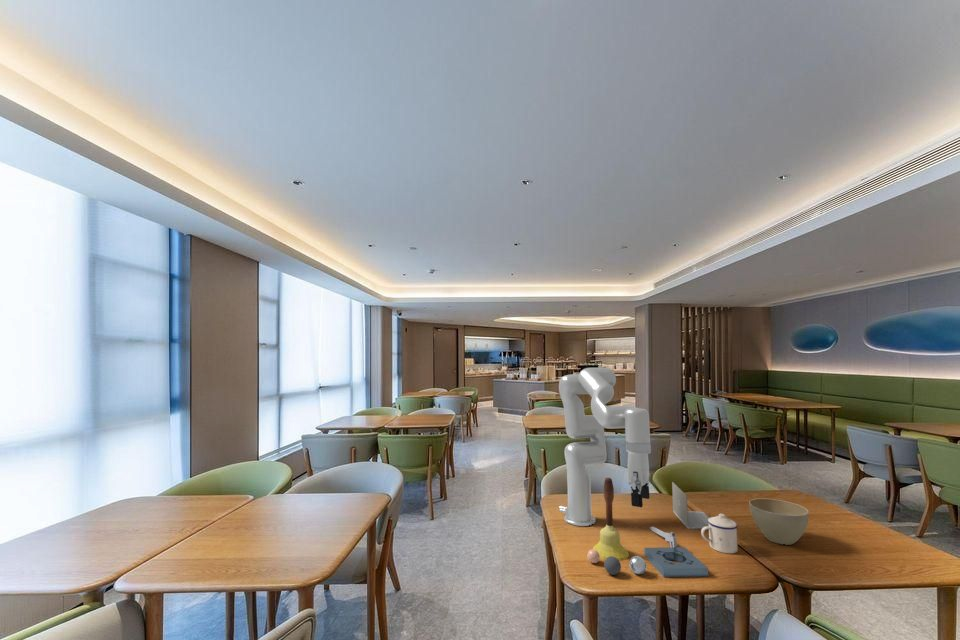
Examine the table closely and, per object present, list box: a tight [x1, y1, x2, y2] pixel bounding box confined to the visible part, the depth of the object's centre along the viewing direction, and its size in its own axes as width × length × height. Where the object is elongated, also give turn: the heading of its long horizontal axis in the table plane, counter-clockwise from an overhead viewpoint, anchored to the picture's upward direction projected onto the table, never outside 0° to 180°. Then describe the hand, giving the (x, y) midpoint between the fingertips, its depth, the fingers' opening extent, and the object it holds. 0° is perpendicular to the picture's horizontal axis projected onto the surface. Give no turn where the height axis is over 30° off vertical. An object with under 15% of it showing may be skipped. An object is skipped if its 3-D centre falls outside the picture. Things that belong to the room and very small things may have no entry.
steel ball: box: [628, 555, 647, 575], centre depth 131 cm, size 5×5×5 cm
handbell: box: [591, 477, 630, 562], centre depth 146 cm, size 12×12×25 cm
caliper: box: [649, 526, 678, 547], centre depth 155 cm, size 20×1×6 cm, turn 1°
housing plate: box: [643, 546, 709, 578], centre depth 136 cm, size 14×14×2 cm
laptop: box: [671, 481, 710, 530], centre depth 173 cm, size 18×12×13 cm
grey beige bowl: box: [748, 497, 810, 546], centre depth 155 cm, size 18×18×12 cm
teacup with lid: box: [700, 513, 738, 554], centre depth 149 cm, size 12×9×12 cm
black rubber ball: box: [603, 556, 622, 576], centre depth 131 cm, size 5×5×5 cm
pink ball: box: [586, 548, 601, 564], centre depth 138 cm, size 4×4×4 cm
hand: (640, 502), depth 134 cm, fingers open, 9 cm apart
